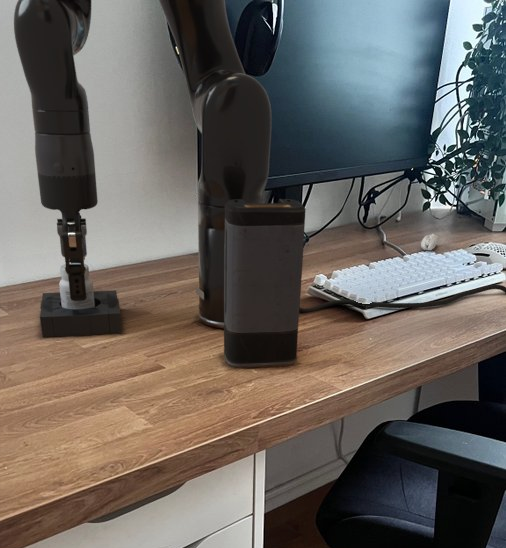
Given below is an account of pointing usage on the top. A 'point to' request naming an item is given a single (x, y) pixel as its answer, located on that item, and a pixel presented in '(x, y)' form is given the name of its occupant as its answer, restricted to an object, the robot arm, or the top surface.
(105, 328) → the socket plate
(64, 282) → the pill bottle
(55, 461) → the top surface
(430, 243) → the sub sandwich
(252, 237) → the electronic device
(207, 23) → the robot arm
